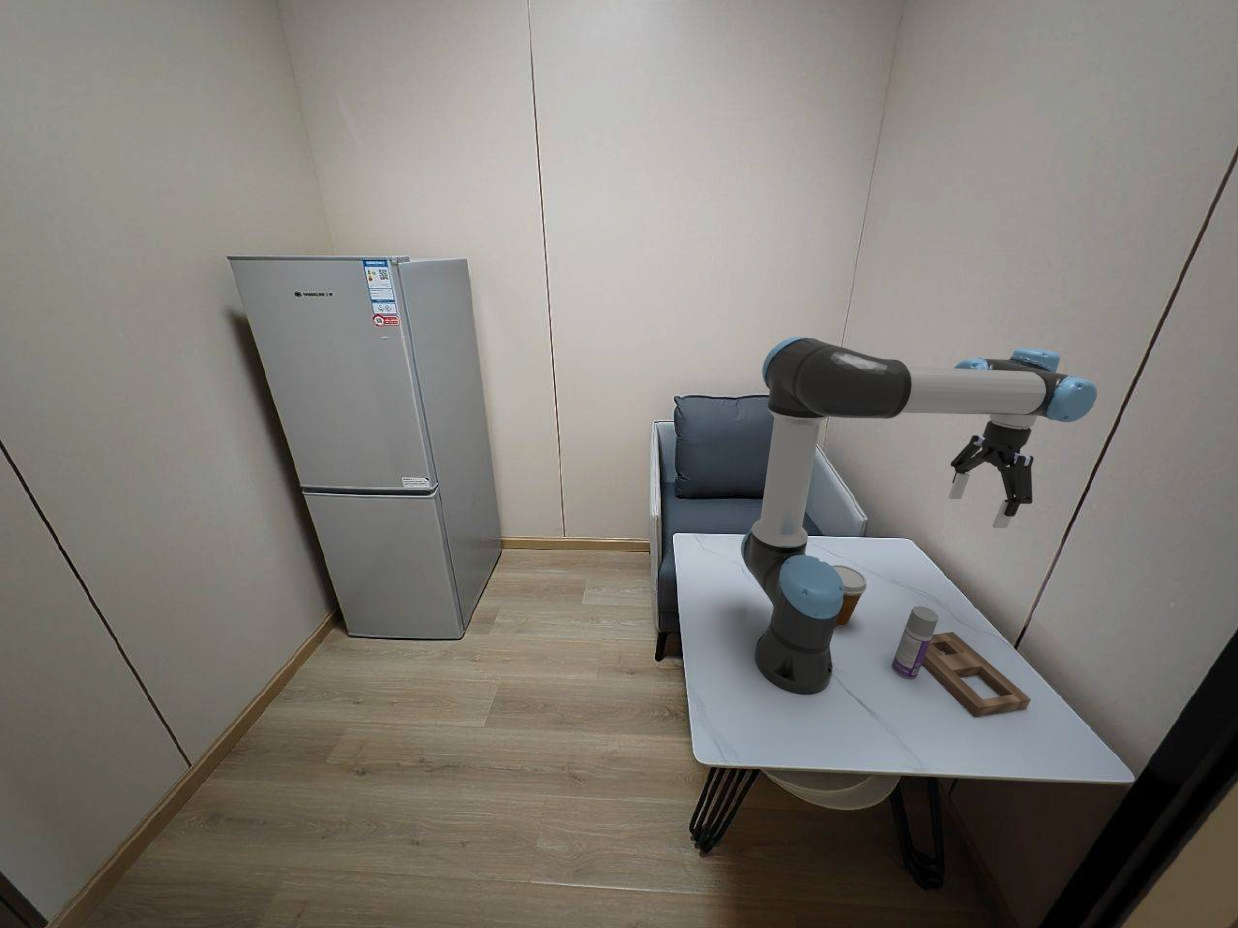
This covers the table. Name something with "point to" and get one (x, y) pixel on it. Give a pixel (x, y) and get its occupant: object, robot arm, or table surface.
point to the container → (914, 642)
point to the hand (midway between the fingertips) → (975, 512)
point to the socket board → (970, 663)
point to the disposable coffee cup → (849, 591)
